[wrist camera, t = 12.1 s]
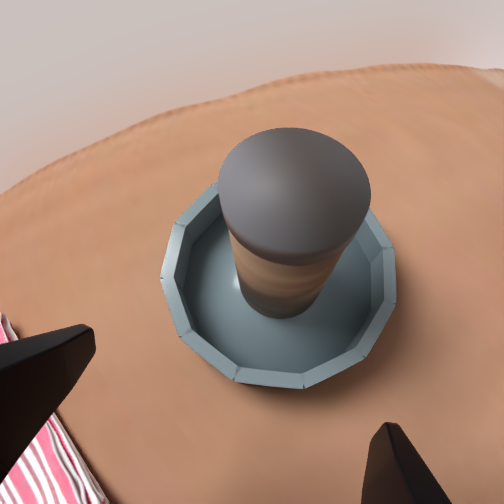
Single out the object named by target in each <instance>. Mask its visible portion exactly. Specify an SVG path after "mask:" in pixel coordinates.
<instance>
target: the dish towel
mask: <svg viewBox="0 0 504 504" xmlns="http://www.w3.org/2000/svg"><path fill="white" fill-rule="evenodd" d="M15 340H19V339H18V338H17V336H16V334H15V333H14V331H13V330H12V328H11V326H10V322H9V319H8V318H7V316H6V314H4V313H2V312H1V313H0V344H2V343H7V342H11V341H15ZM0 504H109V501H108V499H107V497H106V496H105V494H104V493H103V491H102V489H101V487H100V486H99V484H98V482H97V481H96V479H95V478H94V476H93V475H92V474H91V472H90V471H89V469H88V467H87V465H86V464H85V462H84V460H83V459H82V457H81V455H80V454H79V452H78V450H77V449H76V447H75V445H74V444H73V442H72V440H71V439H70V437H69V436H68V434H67V432H66V431H65V429H64V428H63V426H62V424H61V422H60V421H59V419H58V417H57V416H56V414H55V413H53V414H52V415H51V417H50V418H49V419H48V421H47V422H46V423H45V424H44V426H43V427H42V428H41V430H40V431H39V432H38V434H37V435H36V436H35V438H34V439H33V440H32V442H31V443H30V444H29V446H28V447H27V448H26V450H25V451H24V452H23V454H22V455H21V456H20V458H19V459H18V461H17V462H16V463H15V465H14V466H13V467H12V469H11V470H10V472H9V473H8V475H7V476H6V478H5V479H4V480H3V482H2V483H1V485H0Z"/></svg>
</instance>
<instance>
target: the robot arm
mask: <svg viewBox="0 0 504 504" xmlns="http://www.w3.org/2000/svg"><path fill="white" fill-rule="evenodd" d="M95 351H96V345H95V336H94V331H93V329H92V328H91V327H89V326H87V325H85V324H79V325H75V326H71V327H67V328H63V329H59V330H55V331H51V332H47V333H43V334H39V335H35V336H31V337H27V338H23V339H19V340H15V341H11V342H7V343H2V344H0V485H1V483H2V482H3V480H4V479H5V478H6V476H7V475H8V473H9V472H10V470H11V469H12V467H13V466H14V465H15V463H16V462H17V461H18V459H19V458H20V456H21V455H22V454H23V452H24V451H25V450H26V448H27V447H28V446H29V444H30V443H31V442H32V440H33V439H34V438H35V436H36V435H37V434H38V432H39V431H40V430H41V428H42V427H43V426H44V424H45V423H46V422H47V421H48V419H49V418H50V417H51V415H52V414H53V413H54V412H55V410H56V409H57V408H58V406H59V405H60V404H61V403H62V401H63V400H64V399H65V398H66V396H67V395H68V394H69V393H70V391H71V390H72V389H73V387H74V386H75V384H76V383H77V381H78V379H79V378H80V376H81V375H82V373H83V371H84V370H85V368H86V367H87V365H88V364H89V362H90V361H91V359H92V358H93V356H94V354H95ZM361 504H452V503H451V502H450V500H449V498H448V497H447V495H446V494H445V492H444V491H443V489H442V488H441V486H440V485H439V483H438V482H437V480H436V479H435V477H434V476H433V474H432V473H431V471H430V470H429V468H428V467H427V465H426V464H425V462H424V461H423V459H422V458H421V456H420V455H419V454H418V452H417V451H416V449H415V448H414V446H413V445H412V443H411V442H410V440H409V439H408V437H407V436H406V434H405V433H404V431H403V430H402V429H401V427H400V426H399V425H398V424H397V423H390V422H385V423H384V424H383V425H382V426H381V427H380V428H379V430H378V431H377V432H376V434H375V435H374V436H373V438H372V439H371V442H370V446H369V452H368V459H367V465H366V471H365V476H364V482H363V488H362V499H361Z"/></svg>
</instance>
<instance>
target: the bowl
mask: <svg viewBox="0 0 504 504" xmlns="http://www.w3.org/2000/svg"><path fill="white" fill-rule="evenodd" d="M392 247H393V244H392V243H391V241H390V239H389V238H388V236H387V234H386V233H385V231H384V230H383V228H382V226H381V225H380V223H379V222H378V220H377V218H376V217H375V215H374V214H373V212H372V211H371V209H370V208H369V210H368V212H367V215H366V217H365V219H364V221H363V223H362V225H361V226H360V228H359V230H358V232H357V234H356V235H355V237H354V238H353V240H352V241H351V242H350V244H349V245H348V246H347V247H346V248H345V250H344V252H343V253H342V255H341V257H340V259H339V261H338V262H337V264H336V266H335V268H334V269H333V271H332V273H331V275H330V276H329V278H328V280H327V281H326V283H325V285H324V287H323V288H322V290H321V292H320V293H319V295H318V297H317V298H316V300H315V301H314V303H313V304H312V305H311V306H310V307H309V308H308V309H307V310H306V311H305V312H303V313H301V314H299V315H297V316H295V317H291V318H286V319H275V318H270V317H266V316H264V315H262V314H260V313H258V312H256V311H255V310H254V309H253V308H251V307H250V306H249V304H248V303H247V302H246V301H245V299H244V297H243V295H242V293H241V290H240V286H239V281H238V276H237V271H236V266H235V261H234V256H233V251H232V245H231V240H230V235H229V230H228V227H227V225H226V222H225V220H224V216H223V212H222V208H221V203H220V198H219V192H218V182H216V183H214V185H211V186H210V187H209V188H208V189H207V190H206V191H205V192H204V193H203V194H202V195H201V196H200V197H199V198H198V199H197V200H196V201H195V202H194V203H193V204H192V205H191V206H190V207H189V208H188V209H187V210H186V211H185V212H184V213H183V214H182V215H181V216H180V217H179V218H178V219H177V220H176V221H175V224H174V225H173V228H172V232H171V236H170V239H169V243H168V247H167V251H166V255H165V259H164V263H163V267H162V271H161V275H160V278H161V279H160V281H161V285H162V288H163V291H164V294H165V297H166V301H167V304H168V307H169V310H170V313H171V316H172V319H173V322H174V325H175V328H176V331H177V334H178V336H179V337H180V339H181V340H182V341H183V342H184V343H186V344H187V345H188V346H189V347H190V348H192V349H193V350H194V351H195V352H196V353H198V354H199V355H200V356H201V357H202V358H204V359H205V360H206V361H207V362H209V363H210V364H211V365H212V366H214V367H215V368H216V369H217V370H219V371H220V372H221V373H223V374H224V375H225V376H226V377H228V378H229V379H230V380H232V381H234V382H239V383H247V384H255V385H263V386H272V387H282V388H293V389H306V388H308V387H310V386H312V385H314V384H316V383H318V382H321V381H323V380H325V379H327V378H329V377H331V376H333V375H335V374H337V373H339V372H341V371H343V370H345V369H347V368H348V367H350V366H352V365H354V364H356V363H358V362H360V361H362V360H363V359H364V358H366V357H367V355H368V353H369V352H370V350H371V349H372V347H373V345H374V344H375V342H376V340H377V338H378V337H379V335H380V333H381V332H382V330H383V328H384V326H385V325H386V323H387V321H388V319H389V317H390V316H391V314H392V312H393V310H394V308H395V306H396V305H395V304H396V303H397V301H396V270H395V253H394V248H392Z"/></svg>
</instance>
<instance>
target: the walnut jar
mask: <svg viewBox="0 0 504 504" xmlns="http://www.w3.org/2000/svg"><path fill="white" fill-rule="evenodd" d="M218 192H219V198H220V203H221V208H222V212H223V216H224V220H225V222H226V225H227V227H228V230H229V235H230V240H231V245H232V251H233V256H234V261H235V266H236V271H237V276H238V281H239V286H240V290H241V293H242V295H243V297H244V299H245V301H246V302H247V303H248V304H249V306H250V307H251V308H253V309H254V310H255V311H256V312H258V313H260V314H262V315H264V316H266V317H270V318H275V319H286V318H291V317H295V316H297V315H299V314H301V313H303V312H305V311H306V310H307V309H308V308H309V307H310V306H311V305H312V304H313V303H314V301H315V300H316V298H317V297H318V295H319V293H320V292H321V290H322V288H323V287H324V285H325V283H326V281H327V280H328V278H329V276H330V275H331V273H332V271H333V269H334V268H335V266H336V264H337V262H338V261H339V259H340V257H341V255H342V253H343V252H344V250H345V248H346V247H347V246H348V245H349V244H350V242H351V241H352V240H353V238H354V237H355V235H356V234H357V232H358V230H359V228H360V226H361V225H362V223H363V221H364V219H365V217H366V215H367V212H368V210H369V206H370V200H371V190H370V183H369V179H368V177H367V174H366V172H365V170H364V168H363V166H362V164H361V163H360V162H359V160H358V159H357V158H356V156H355V155H354V154H353V153H352V152H351V151H350V150H348V149H347V148H346V147H345V146H344V145H342V144H341V143H339V142H338V141H336V140H334V139H332V138H331V137H329V136H326V135H324V134H321V133H318V132H315V131H312V130H307V129H301V128H276V129H271V130H266V131H263V132H260V133H257V134H255V135H252V136H250V137H249V138H247V139H245V140H244V141H242V142H241V143H239V144H238V145H237V146H236V147H235V148H234V149H233V150H232V151H231V152H230V153H229V154H228V156H227V157H226V159H225V160H224V162H223V164H222V167H221V169H220V173H219V177H218Z"/></svg>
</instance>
